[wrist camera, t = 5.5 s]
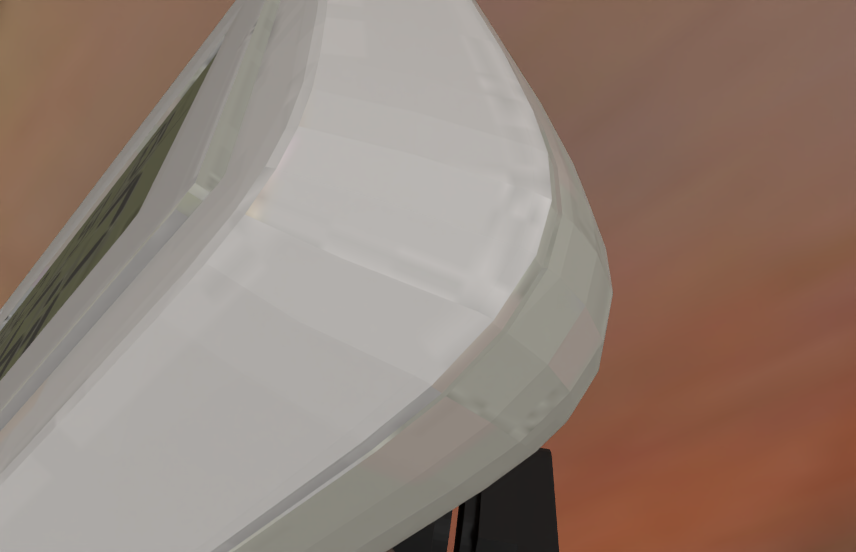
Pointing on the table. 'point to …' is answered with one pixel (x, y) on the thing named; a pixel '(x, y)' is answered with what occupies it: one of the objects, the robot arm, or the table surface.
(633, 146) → the table surface
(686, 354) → the table surface
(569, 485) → the table surface
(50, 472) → the digital clock
